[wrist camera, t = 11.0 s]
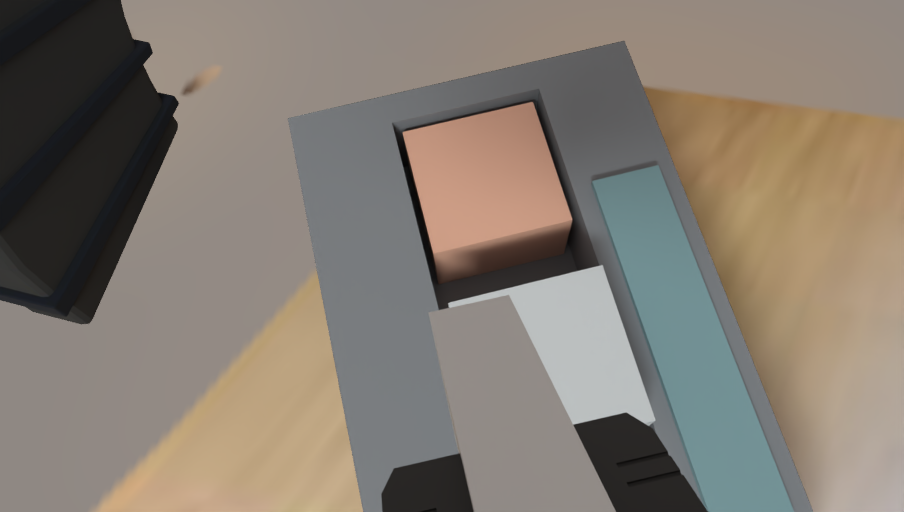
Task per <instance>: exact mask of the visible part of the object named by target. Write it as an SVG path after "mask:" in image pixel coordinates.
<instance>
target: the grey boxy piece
mask: <svg viewBox="0 0 904 512" xmlns="http://www.w3.org/2000/svg"><path fill="white" fill-rule="evenodd" d="M529 102H533V103H534V106H535V109H536V112H537V115H538V118H539V121H540V124H541V127H542V130H543V133H544V136H545V139H546V142H547V145H548V148H549V151H550V154H551V157H552V160H553V163H554V166H555V169H556V172H557V175H558V178H559V181H560V184H561V187H562V190H563V193H564V196H565V199H566V202H567V205H568V208H569V211H570V214H571V217H572V224H571V228H570V232H569V236H568V239H567V243H566V247H565V251H564V254H561V255H557V256H553V257H549V258H545V259H541V260H536V261H532V262H528V263H524V264H520V265H516V266H512V267H508V268H504V269H500V270H496V271H491V272H487V273H483V274H479V275H475V276H471V277H467V278H463V279H459V280H455V281H451V282H446V283H442V284H438V280H437V276H436V272H435V268H434V264H433V260H432V257H431V253H430V249H429V245H428V241H427V237H426V233H425V229H424V225H423V221H422V217H421V213H420V209H419V205H418V201H417V197H416V193H415V189H414V186H413V182H412V178H411V174H410V169H409V164H408V158H407V153H406V148H405V143H404V137H403V132H405V131H409V130H414V129H418V128H422V127H426V126H431V125H435V124H439V123H444V122H448V121H452V120H457V119H461V118H465V117H469V116H474V115H478V114H482V113H487V112H491V111H495V110H499V109H504V108H508V107H512V106H517V105H521V104H525V103H529ZM288 122H289V127H290V132H291V137H292V142H293V148H294V152H295V158H296V163H297V168H298V173H299V179H300V184H301V189H302V194H303V200H304V205H305V210H306V215H307V221H308V226H309V231H310V236H311V241H312V247H313V252H314V257H315V262H316V267H317V273H318V278H319V283H320V288H321V294H322V299H323V304H324V309H325V314H326V320H327V325H328V330H329V335H330V340H331V346H332V351H333V356H334V361H335V367H336V372H337V377H338V382H339V387H340V393H341V398H342V403H343V408H344V413H345V419H346V424H347V429H348V434H349V440H350V445H351V450H352V455H353V460H354V466H355V471H356V476H357V481H358V486H359V492H360V497H361V502H362V507H363V512H382V498H381V494H382V492H383V489H384V487H385V485H386V483H387V481H388V479H389V477H390V475H391V473H392V471H393V469H394V468H398V467H402V466H406V465H411V464H415V463H419V462H424V461H428V460H432V459H437V458H441V457H445V456H450V455H454V454H458V453H459V452H458V448H457V443H456V439H455V434H454V430H453V425H452V420H451V416H450V411H449V406H448V402H447V397H446V392H445V388H444V383H443V378H442V374H441V369H440V364H439V360H438V355H437V350H436V346H435V341H434V336H433V332H432V327H431V322H430V318H429V312H433V311H438V310H442V309H447V308H449V306H448V303H450V302H454V301H458V300H462V299H466V298H470V297H474V296H479V295H483V294H487V293H491V292H495V291H499V290H503V289H507V288H511V287H515V286H519V285H523V284H527V283H531V282H535V281H540V280H544V279H548V278H552V277H556V276H560V275H564V274H568V273H572V272H576V271H580V270H584V269H588V268H592V267H596V266H601V265H603V268H604V271H605V274H606V277H607V280H608V283H609V286H610V289H611V292H612V294H613V297H614V300H615V303H616V306H617V309H618V312H619V315H620V318H621V321H622V324H623V327H624V330H625V332H626V335H627V338H628V341H629V344H630V347H631V350H632V353H633V356H634V359H635V362H636V365H637V368H638V370H639V373H640V376H641V379H642V382H643V385H644V388H645V391H646V394H647V397H648V400H649V403H650V406H651V408H652V411H653V414H654V417H655V420H656V421H654V422H653V423H652V424H651V425H649V427H651V428H653V430H654V431H655V433H656V434H657V436H658V437H659V439H660V440H661V442H662V443H663V445H664V446H665V448H666V449H667V451H668V454H669V456H671V457H672V458H673V460H674V461H675V463H676V464H677V466H678V467H679V469H680V472H681V474H682V475H684V476H685V478H686V479H687V481H688V482H689V484H690V485H691V487H692V488H693V490H694V491H695V493H696V494H697V496H698V498H699V499H700V501H701V502H702V504H703V505H704V507H705V508H706V510H707V511H708V512H813V510H812V508H811V505H810V503H809V500H808V498H807V495H806V493H805V490H804V488H803V485H802V483H801V480H800V478H799V475H798V473H797V470H796V468H795V465H794V463H793V460H792V458H791V455H790V453H789V450H788V448H787V445H786V443H785V440H784V438H783V435H782V433H781V430H780V428H779V425H778V423H777V420H776V418H775V415H774V413H773V410H772V408H771V405H770V403H769V400H768V398H767V395H766V393H765V390H764V388H763V385H762V383H761V380H760V378H759V375H758V373H757V370H756V368H755V365H754V363H753V360H752V358H751V355H750V353H749V350H748V348H747V345H746V343H745V340H744V338H743V335H742V333H741V330H740V328H739V325H738V323H737V321H736V318H735V316H734V313H733V311H732V308H731V306H730V303H729V301H728V298H727V296H726V293H725V291H724V288H723V286H722V283H721V281H720V278H719V276H718V273H717V271H716V268H715V266H714V263H713V261H712V258H711V256H710V253H709V251H708V248H707V246H706V243H705V241H704V238H703V236H702V233H701V231H700V228H699V226H698V223H697V221H696V218H695V216H694V213H693V211H692V208H691V206H690V203H689V201H688V198H687V196H686V193H685V191H684V188H683V186H682V183H681V181H680V178H679V176H678V173H677V171H676V168H675V166H674V163H673V161H672V158H671V156H670V153H669V151H668V148H667V146H666V143H665V141H664V138H663V136H662V134H661V131H660V129H659V126H658V124H657V121H656V119H655V116H654V114H653V111H652V109H651V106H650V104H649V101H648V99H647V96H646V94H645V91H644V89H643V86H642V84H641V81H640V79H639V76H638V74H637V71H636V69H635V66H634V64H633V61H632V59H631V56H630V54H629V51H628V49H627V46H626V44H625V41H621V42H617V43H612V44H609V45H604V46H599V47H595V48H591V49H586V50H582V51H578V52H573V53H569V54H565V55H560V56H556V57H552V58H547V59H543V60H539V61H534V62H530V63H526V64H521V65H517V66H513V67H508V68H504V69H500V70H496V71H491V72H486V73H482V74H478V75H474V76H469V77H465V78H461V79H456V80H452V81H448V82H443V83H439V84H434V85H430V86H426V87H422V88H417V89H413V90H409V91H404V92H400V93H395V94H391V95H387V96H382V97H378V98H374V99H369V100H365V101H361V102H357V103H352V104H348V105H344V106H339V107H335V108H330V109H326V110H322V111H317V112H313V113H309V114H304V115H300V116H296V117H291V118H288Z"/></svg>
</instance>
